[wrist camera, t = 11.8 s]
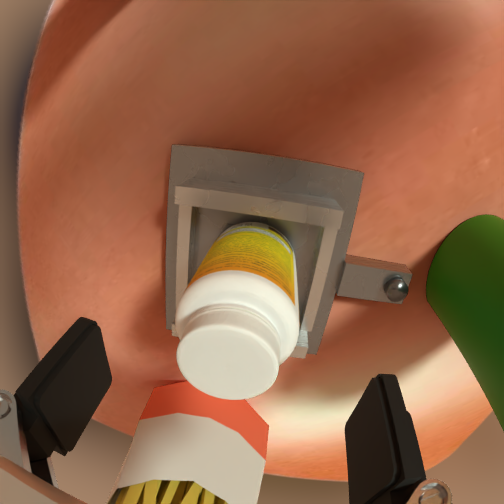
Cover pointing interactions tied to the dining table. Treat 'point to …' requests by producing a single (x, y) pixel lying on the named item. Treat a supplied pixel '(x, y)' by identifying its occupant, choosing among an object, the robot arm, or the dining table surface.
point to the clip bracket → (279, 217)
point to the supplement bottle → (239, 313)
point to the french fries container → (193, 451)
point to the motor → (474, 299)
